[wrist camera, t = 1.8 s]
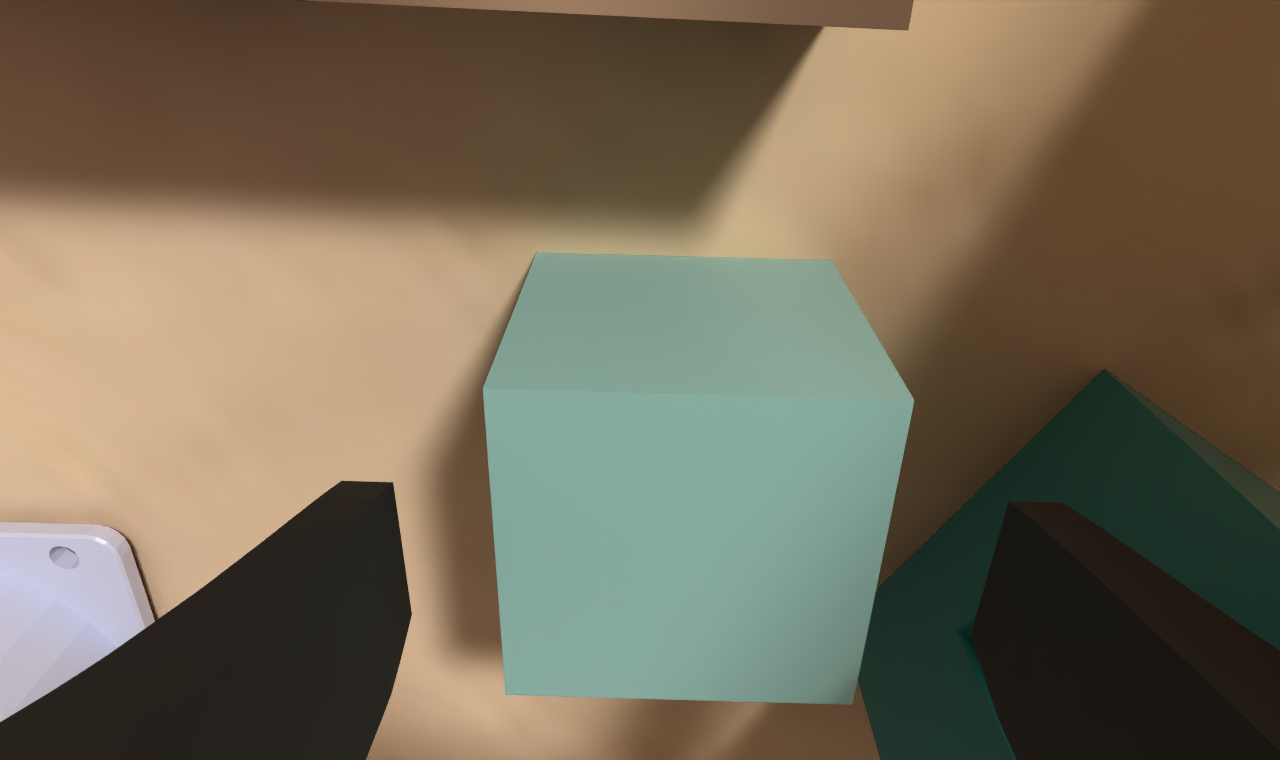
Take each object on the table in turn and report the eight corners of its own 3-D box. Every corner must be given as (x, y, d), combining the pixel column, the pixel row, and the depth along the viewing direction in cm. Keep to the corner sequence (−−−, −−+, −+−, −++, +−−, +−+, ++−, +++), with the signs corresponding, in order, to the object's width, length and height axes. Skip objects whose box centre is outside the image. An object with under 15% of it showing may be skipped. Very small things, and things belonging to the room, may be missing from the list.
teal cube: (545, 492, 15) (504, 694, 11) (537, 250, 13) (482, 388, 9) (797, 499, 15) (852, 704, 11) (831, 258, 13) (914, 400, 9)
